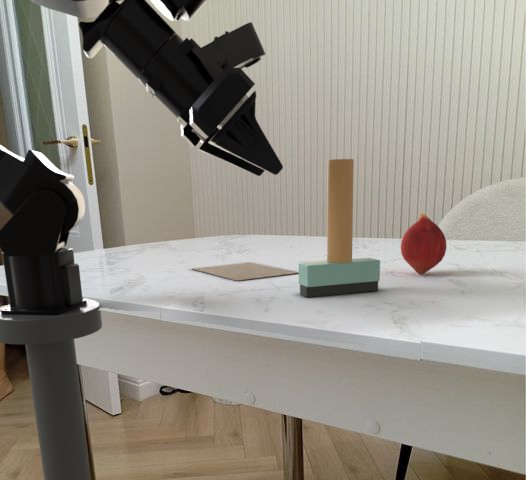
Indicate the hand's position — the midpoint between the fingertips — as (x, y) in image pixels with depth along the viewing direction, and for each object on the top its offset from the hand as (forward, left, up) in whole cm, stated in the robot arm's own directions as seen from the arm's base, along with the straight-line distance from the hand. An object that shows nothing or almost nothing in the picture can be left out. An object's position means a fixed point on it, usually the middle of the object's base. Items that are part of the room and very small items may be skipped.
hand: (270, 172), depth 63 cm
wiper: (+7, +3, -13) cm, 16 cm away
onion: (+17, +17, -14) cm, 28 cm away
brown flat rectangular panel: (-8, +19, -13) cm, 25 cm away
